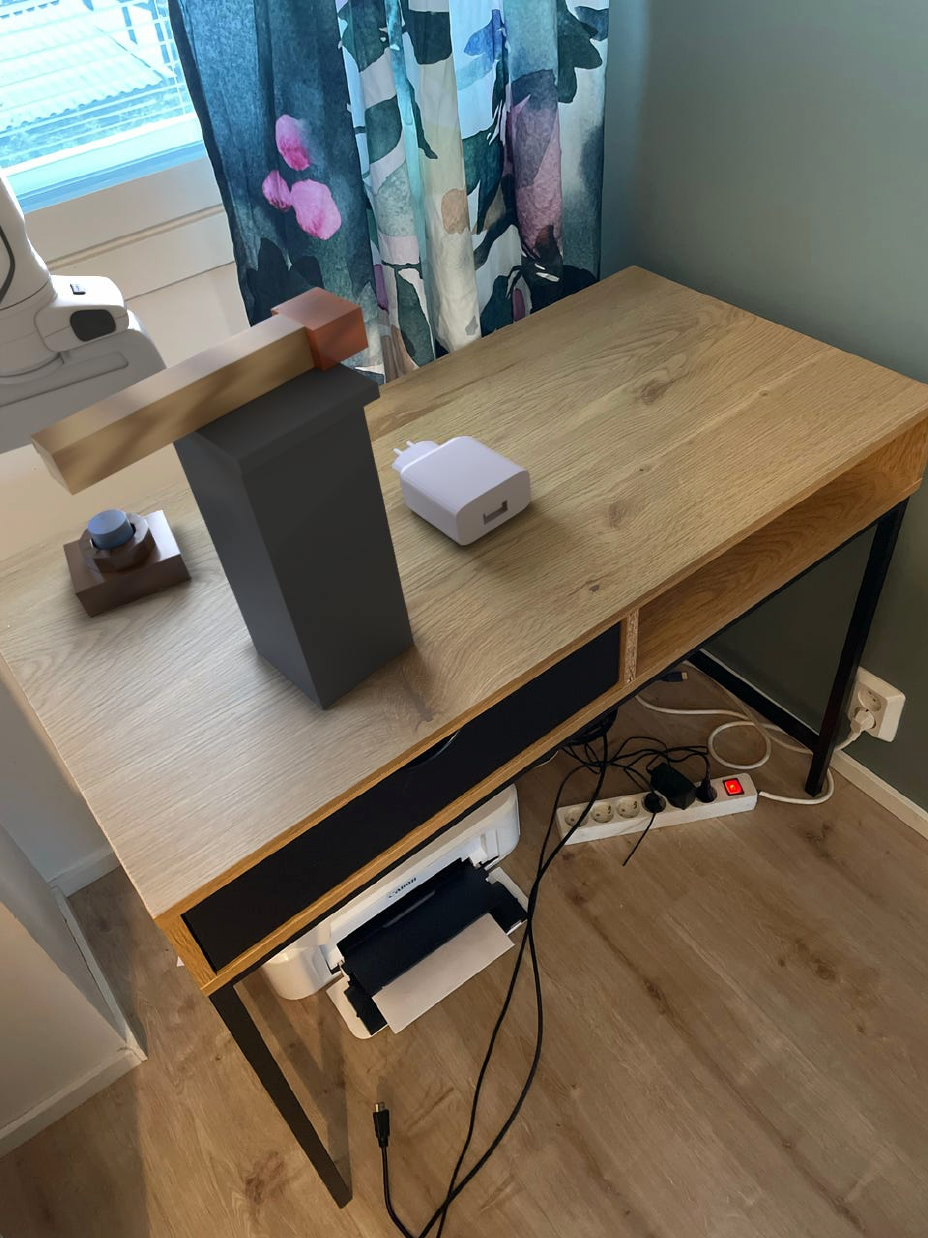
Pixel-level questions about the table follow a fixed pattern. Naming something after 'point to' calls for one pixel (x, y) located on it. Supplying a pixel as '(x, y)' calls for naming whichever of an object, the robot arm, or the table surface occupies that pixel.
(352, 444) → the stand
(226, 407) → the stick
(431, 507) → the charger
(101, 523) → the plunger
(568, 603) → the table surface
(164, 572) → the button base
